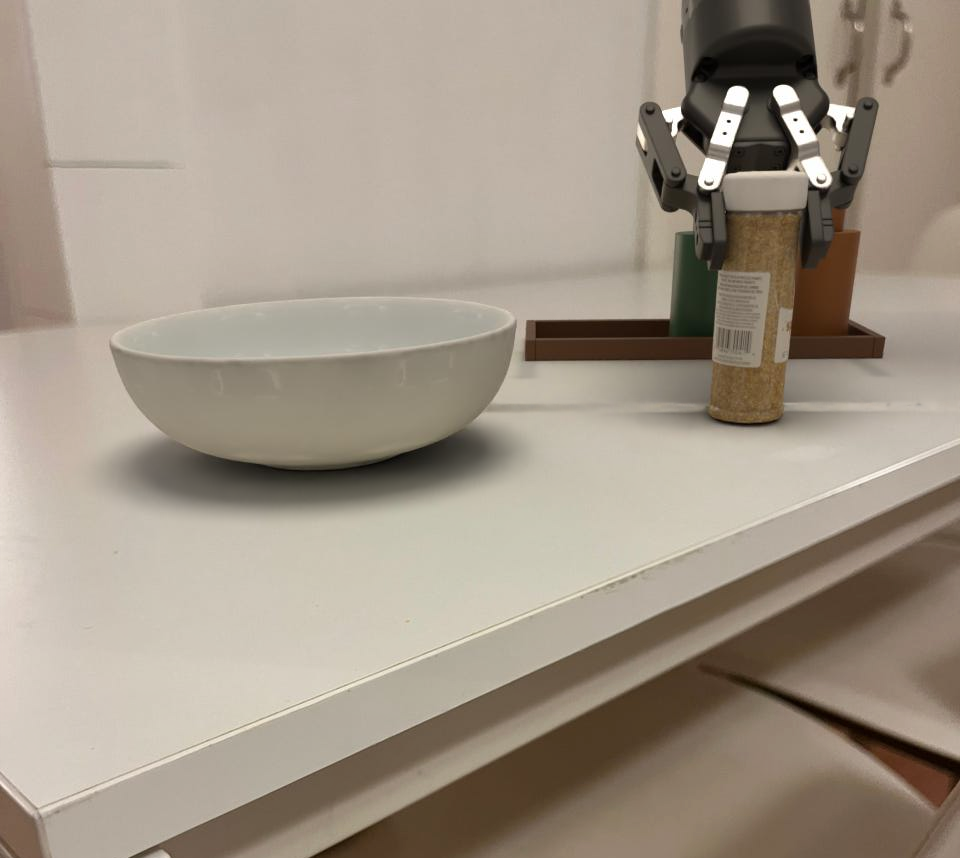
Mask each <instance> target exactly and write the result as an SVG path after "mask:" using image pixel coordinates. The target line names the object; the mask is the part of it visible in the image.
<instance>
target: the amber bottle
mask: <svg viewBox="0 0 960 858" xmlns="http://www.w3.org/2000/svg"><path fill="white" fill-rule="evenodd" d="M846 210H847V209H845V210H838V209H835V208H834V207H832V216H833V226H834V233H835V234H834V237H833V239H832V242H831V244H830V247H829V249H828V252H827V255H826V257H825V259H820V260H819V263H818V266H817V268H816V269H802V267H801V257H800V247H799V240H798V252H797V262H796V270H795V277H794V278H795V293H794V303H793V314H792V323H791V334H790V336H847V330H848V323H849V319H850V315H851V309H852V308H851V307H852V299H853V294H854V293H853V292H854V286H855V278H856V270H857V264H858V256H859V248H860V241H861V233H862V231H861V230H857V229H847V228H846V229H844V224H845V218H846Z"/></svg>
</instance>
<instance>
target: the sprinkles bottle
mask: <svg viewBox="0 0 960 858" xmlns="http://www.w3.org/2000/svg"><path fill="white" fill-rule="evenodd" d="M808 180H809V177H808V174H807V173H805V172H797V171H751V172H737V173H731V174H727V175H726V176H725V177H724V180H723V190H722V192H723V195H724V204H725V217H726V231H727V250H726V255H725V259H724V263H723V266H722V270H718V283H717V296H716V309H715V323H714V337H713V351H712V360H711V361H712V371H711V384H710V399H709V403H708V406H707V414H708V415H710V416H711V417H712V418H714V419H716V420H719V421H721V422H729V423H738V424H766V423H770V422H773V421H776V420H778V419H779V418H781V417H783V414H784V411H785V405H784V393H785V383H786V372H787V365H788V364H787V363H788V360H789V359H788V355H789V344H790V334H791V323H792V314H793V303H794V293H795V278H794V277H795V270H796V262H797V252H798V240H799V230H800V221H801V218H802V216H803V212H802V209H804V208H805V207H806V203H807V193H808Z"/></svg>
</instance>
